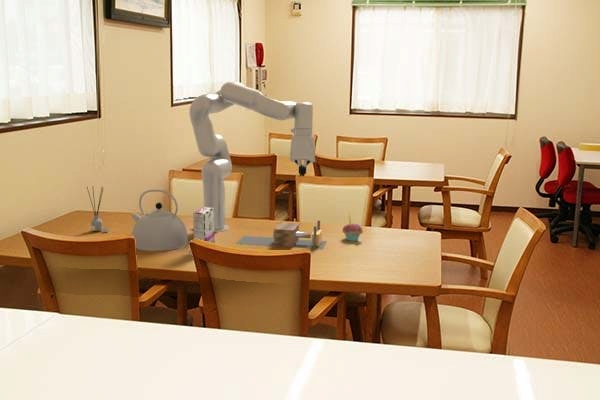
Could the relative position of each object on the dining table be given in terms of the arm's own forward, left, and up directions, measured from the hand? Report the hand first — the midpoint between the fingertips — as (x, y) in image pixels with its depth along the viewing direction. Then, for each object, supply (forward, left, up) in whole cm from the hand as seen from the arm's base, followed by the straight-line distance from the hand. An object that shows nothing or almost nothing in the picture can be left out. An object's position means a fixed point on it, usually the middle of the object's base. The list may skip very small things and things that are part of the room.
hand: (302, 175), depth 276 cm
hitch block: (+1, -12, -26) cm, 29 cm away
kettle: (-56, -23, -28) cm, 67 cm away
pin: (-2, -12, -25) cm, 28 cm away
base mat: (-6, -12, -27) cm, 30 cm away
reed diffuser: (-88, -10, -27) cm, 93 cm away
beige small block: (+9, -12, -26) cm, 30 cm away
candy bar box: (-34, -29, -27) cm, 52 cm away
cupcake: (+22, +1, -27) cm, 35 cm away
